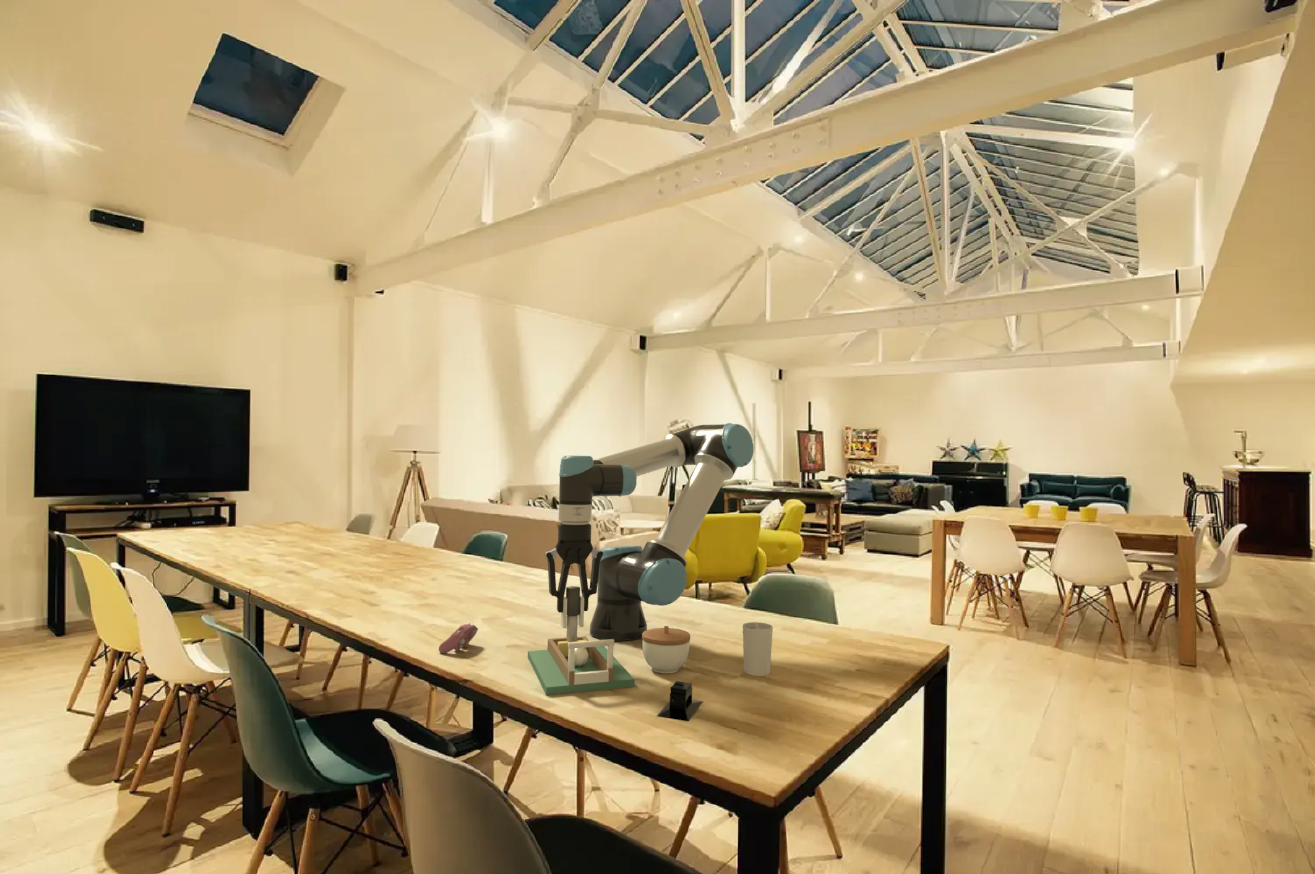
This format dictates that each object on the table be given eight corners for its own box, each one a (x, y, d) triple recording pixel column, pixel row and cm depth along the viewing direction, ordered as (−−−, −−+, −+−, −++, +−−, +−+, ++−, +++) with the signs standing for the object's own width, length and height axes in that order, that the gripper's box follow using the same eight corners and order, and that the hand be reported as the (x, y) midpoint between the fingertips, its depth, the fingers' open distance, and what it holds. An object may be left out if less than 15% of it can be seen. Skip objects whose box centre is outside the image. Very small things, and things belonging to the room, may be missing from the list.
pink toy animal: (451, 661, 152) (464, 635, 151) (435, 651, 152) (448, 625, 152) (471, 649, 161) (484, 625, 161) (456, 640, 162) (469, 615, 162)
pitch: (603, 651, 157) (604, 611, 157) (634, 686, 133) (635, 638, 133) (527, 657, 151) (529, 615, 151) (546, 695, 127) (547, 645, 128)
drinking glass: (753, 678, 140) (754, 631, 140) (735, 669, 146) (736, 623, 146) (778, 674, 143) (779, 628, 144) (760, 665, 149) (760, 621, 149)
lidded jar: (695, 665, 148) (696, 623, 149) (681, 679, 138) (682, 634, 138) (650, 659, 152) (651, 618, 152) (634, 673, 142) (635, 629, 142)
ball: (585, 662, 144) (586, 643, 144) (590, 667, 140) (590, 648, 140) (567, 663, 142) (568, 645, 142) (571, 669, 138) (572, 650, 139)
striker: (583, 650, 151) (585, 585, 152) (586, 654, 148) (588, 588, 149) (556, 653, 149) (557, 586, 150) (558, 657, 146) (560, 589, 147)
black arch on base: (672, 696, 130) (673, 671, 130) (710, 702, 127) (710, 677, 127) (649, 721, 117) (650, 693, 117) (691, 728, 115) (692, 700, 115)
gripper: (542, 524, 143) (538, 632, 143) (613, 523, 149) (611, 627, 148) (536, 521, 151) (533, 624, 150) (605, 520, 156) (602, 620, 155)
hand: (572, 625), depth 149 cm, fingers closed on striker, 3 cm apart
